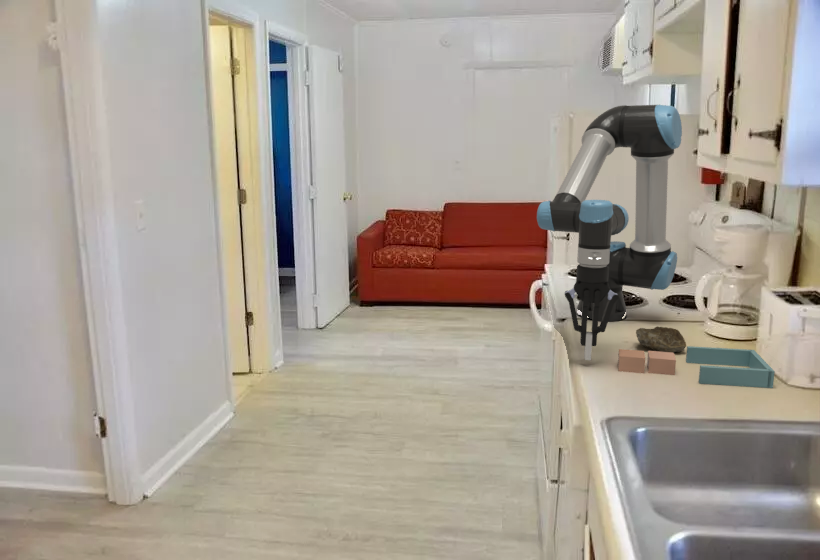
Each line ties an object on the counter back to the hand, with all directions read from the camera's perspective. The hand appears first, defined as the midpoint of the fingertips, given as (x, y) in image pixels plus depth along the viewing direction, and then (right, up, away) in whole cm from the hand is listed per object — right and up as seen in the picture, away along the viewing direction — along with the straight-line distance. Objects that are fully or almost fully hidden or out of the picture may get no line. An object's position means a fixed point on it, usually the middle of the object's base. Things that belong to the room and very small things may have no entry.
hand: (587, 358), depth 178 cm
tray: (+32, -3, -5) cm, 33 cm away
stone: (+23, +1, +14) cm, 27 cm away
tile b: (+10, -3, -1) cm, 11 cm away
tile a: (+17, -3, -3) cm, 18 cm away
